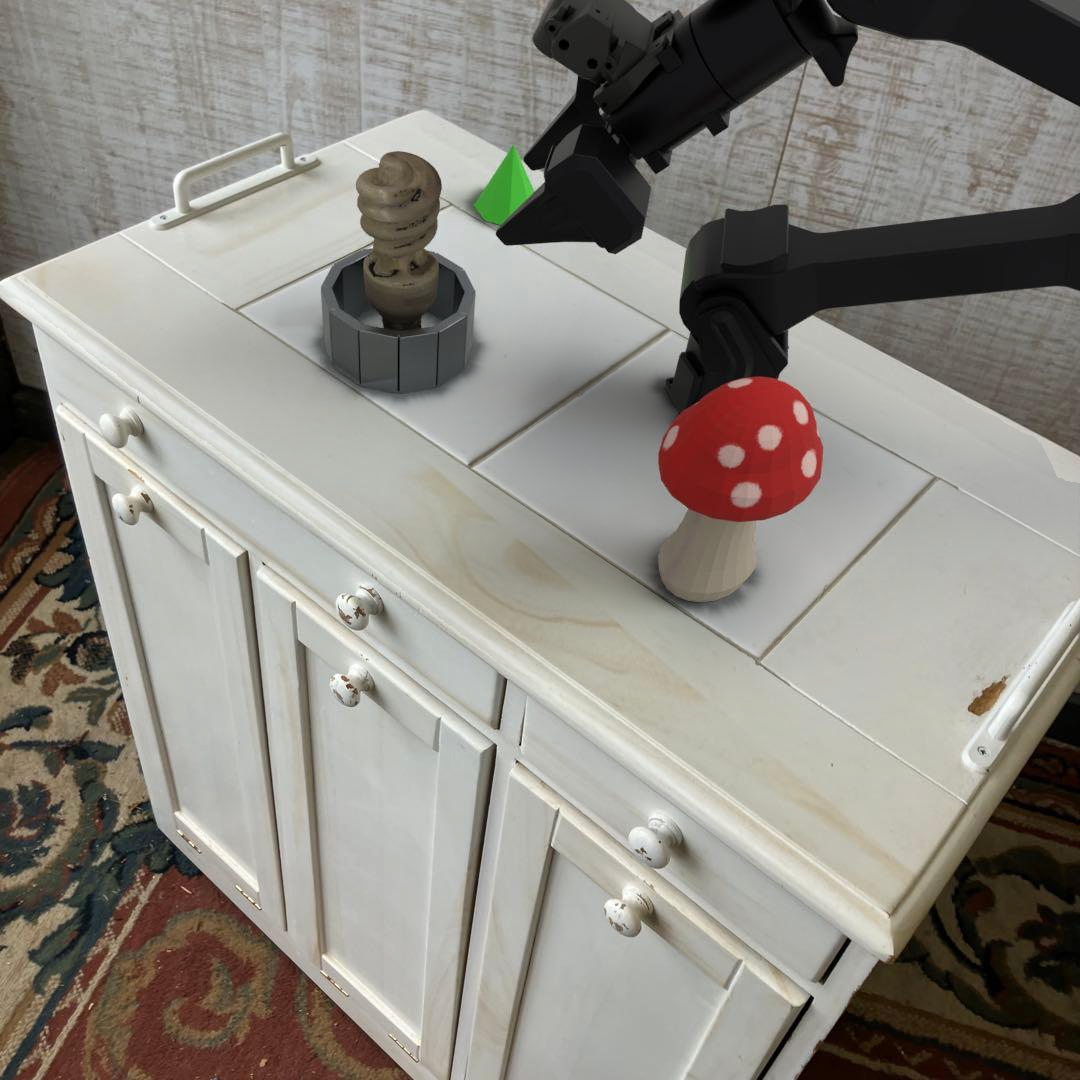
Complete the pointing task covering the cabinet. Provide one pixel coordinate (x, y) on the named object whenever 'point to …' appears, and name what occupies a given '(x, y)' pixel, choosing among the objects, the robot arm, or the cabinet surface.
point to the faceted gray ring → (392, 353)
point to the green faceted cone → (505, 190)
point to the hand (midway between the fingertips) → (514, 199)
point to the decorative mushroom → (733, 480)
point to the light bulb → (400, 237)
